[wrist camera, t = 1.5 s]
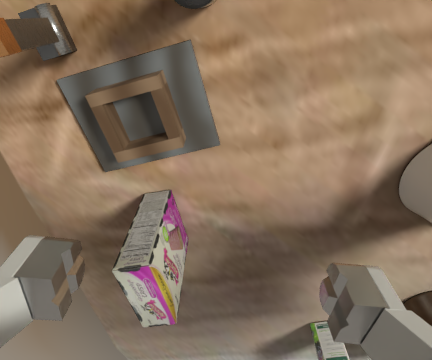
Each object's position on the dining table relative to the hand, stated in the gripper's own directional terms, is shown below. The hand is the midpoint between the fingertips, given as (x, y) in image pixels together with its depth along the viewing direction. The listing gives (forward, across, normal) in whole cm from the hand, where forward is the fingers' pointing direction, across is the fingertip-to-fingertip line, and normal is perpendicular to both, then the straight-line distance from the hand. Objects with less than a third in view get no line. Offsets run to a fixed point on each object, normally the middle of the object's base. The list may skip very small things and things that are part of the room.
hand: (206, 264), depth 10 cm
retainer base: (+32, +19, -2) cm, 38 cm away
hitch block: (+32, +9, +7) cm, 34 cm away
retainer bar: (+28, +18, -3) cm, 34 cm away
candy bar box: (+32, +6, +24) cm, 41 cm away
